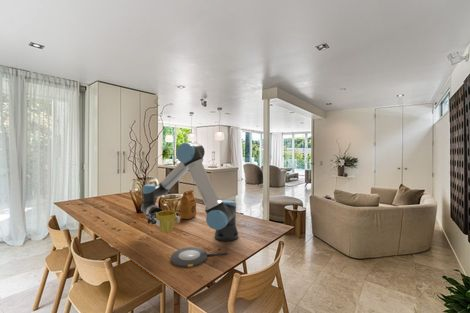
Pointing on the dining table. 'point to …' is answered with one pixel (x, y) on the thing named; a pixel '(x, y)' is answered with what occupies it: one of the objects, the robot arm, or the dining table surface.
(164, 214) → the plant pot
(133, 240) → the dining table surface
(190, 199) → the coffee package
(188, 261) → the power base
